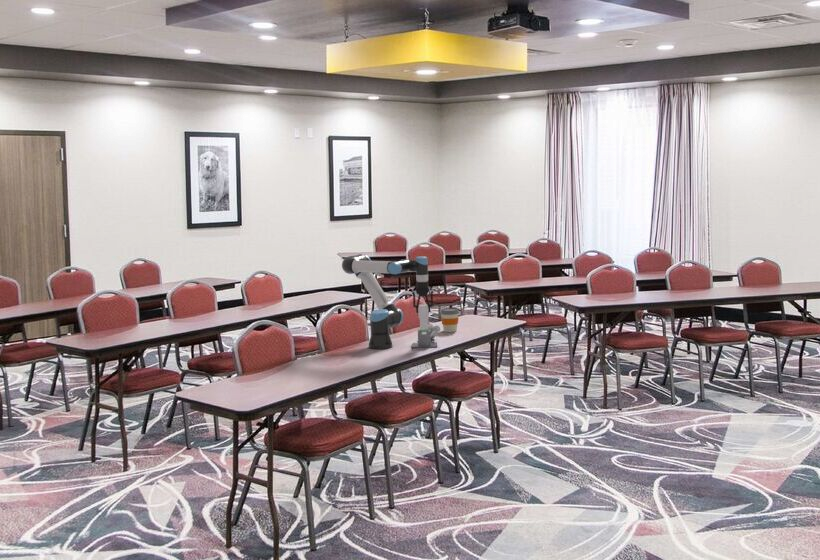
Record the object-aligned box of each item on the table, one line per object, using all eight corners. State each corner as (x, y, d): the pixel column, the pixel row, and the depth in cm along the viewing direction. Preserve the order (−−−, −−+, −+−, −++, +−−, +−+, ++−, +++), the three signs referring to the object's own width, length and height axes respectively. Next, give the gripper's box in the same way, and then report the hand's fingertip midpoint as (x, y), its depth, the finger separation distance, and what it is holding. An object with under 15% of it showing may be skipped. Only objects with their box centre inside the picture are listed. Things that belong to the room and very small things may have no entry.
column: (420, 334, 547) (419, 305, 545) (420, 332, 552) (419, 304, 550) (428, 333, 547) (427, 305, 545) (428, 332, 552) (427, 304, 550)
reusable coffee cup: (438, 330, 605) (438, 308, 603) (455, 328, 608) (455, 307, 607) (444, 333, 593) (443, 311, 591) (461, 331, 596) (461, 310, 594)
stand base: (411, 348, 544) (411, 332, 543) (412, 344, 556) (411, 329, 555) (437, 347, 544) (436, 331, 543) (437, 343, 556) (436, 328, 555)
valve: (430, 337, 579) (445, 332, 568) (416, 353, 567) (431, 348, 556) (421, 324, 577) (436, 319, 566) (407, 340, 565) (422, 335, 554)
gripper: (407, 282, 542) (409, 319, 545) (436, 281, 541) (438, 318, 544) (408, 280, 549) (409, 317, 552) (436, 280, 549) (437, 316, 552)
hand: (423, 317), depth 548 cm, fingers closed on column, 5 cm apart
